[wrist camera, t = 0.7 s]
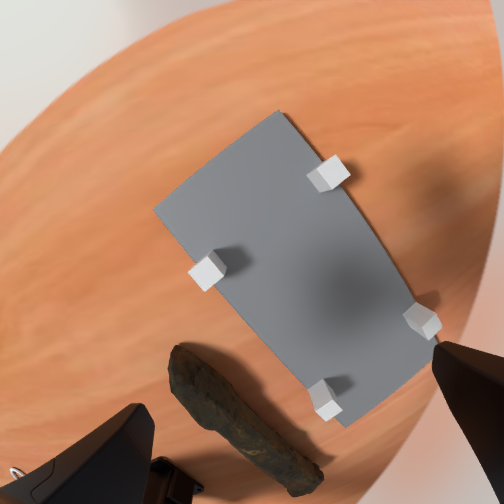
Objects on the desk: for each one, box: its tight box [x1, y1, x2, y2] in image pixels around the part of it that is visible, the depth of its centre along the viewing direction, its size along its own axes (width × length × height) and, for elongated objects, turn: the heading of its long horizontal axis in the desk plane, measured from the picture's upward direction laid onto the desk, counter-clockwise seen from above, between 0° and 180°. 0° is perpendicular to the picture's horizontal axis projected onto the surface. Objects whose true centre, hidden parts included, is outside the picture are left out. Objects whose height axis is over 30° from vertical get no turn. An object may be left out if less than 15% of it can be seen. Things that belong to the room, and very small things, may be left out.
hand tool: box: [168, 345, 324, 497], centre depth 21 cm, size 19×4×5 cm, turn 33°
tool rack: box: [153, 110, 443, 428], centre depth 20 cm, size 11×24×4 cm, turn 39°
